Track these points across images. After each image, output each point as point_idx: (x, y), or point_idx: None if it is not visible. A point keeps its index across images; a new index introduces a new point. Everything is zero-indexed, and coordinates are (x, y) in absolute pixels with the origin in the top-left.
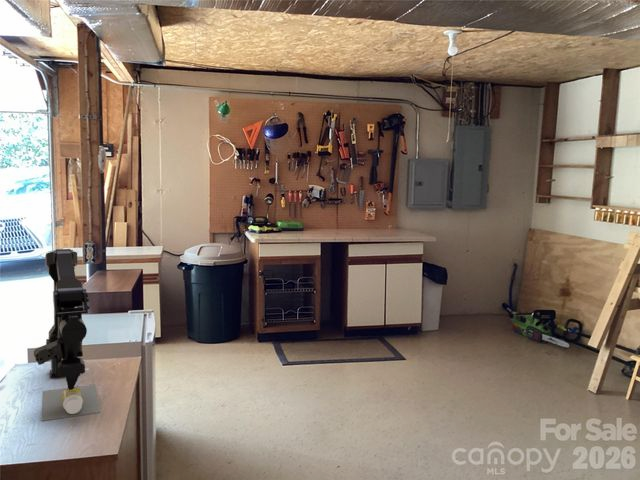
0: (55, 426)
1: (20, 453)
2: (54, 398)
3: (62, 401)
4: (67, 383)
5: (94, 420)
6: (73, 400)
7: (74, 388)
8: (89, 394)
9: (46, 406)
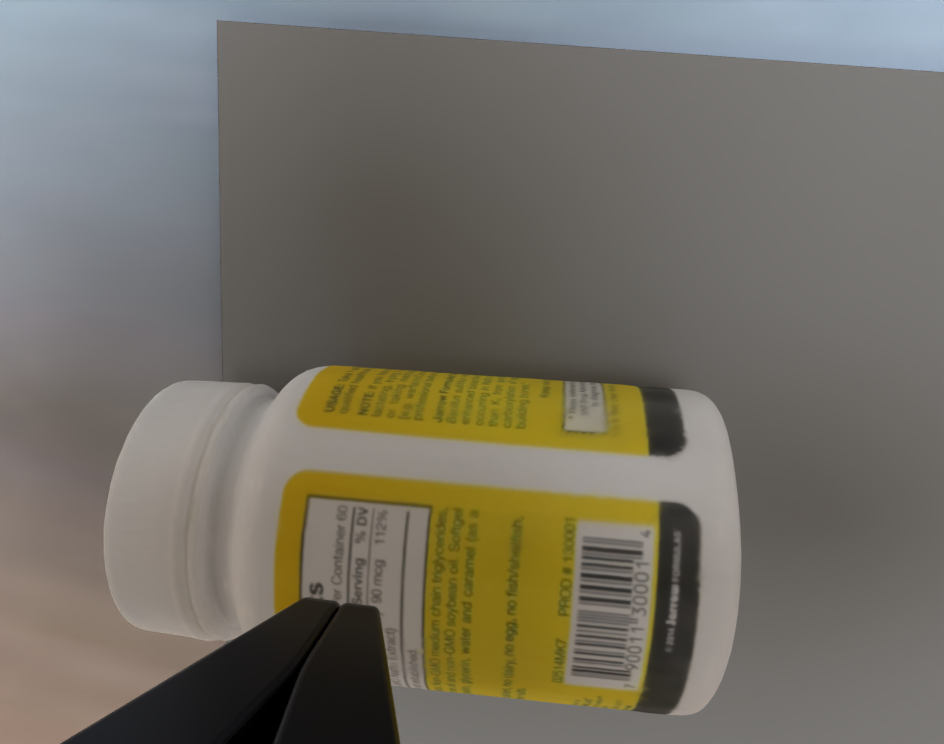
0: (9, 198)
1: None
2: None
3: (806, 378)
4: (154, 691)
5: (47, 618)
6: (112, 553)
7: (606, 676)
8: (852, 730)
9: (732, 131)
